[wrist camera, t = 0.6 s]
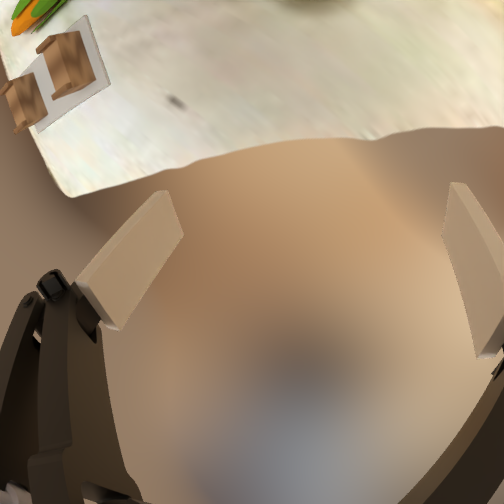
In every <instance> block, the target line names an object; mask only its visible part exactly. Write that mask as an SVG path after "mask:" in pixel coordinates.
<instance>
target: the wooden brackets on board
mask: <svg viewBox="0 0 504 504" xmlns="http://www.w3.org/2000/svg"><path fill="white" fill-rule="evenodd" d="M36 52H37V54H40V53H43V55H44V58H45V62H46V65H47V68H48V71H49V74H50V77H51V80H52V82H53V85H54V88H55V91H56V92H55V93H53V94H52V95H51V97H52V100H53V101H54V100H56V99H59V98H61V97H64V96H66V95H69V94H71V93H74V92H77V91H79V90H82V89H83V88H85V87H86V86H88V85H89V84H91V83H92V82H94V81H95V80H96V77H95V75H94V72H93V69H92V66H91V63H90V61H89V58H88V55H87V52H86V49H85V46H84V43H83V40H82V37H81V34H80V31H73V32H67V33H61V34H56V35H51V36H48V37H47V38H46V39H45V40H44V41H43V42H42V43H41V44H40V45H39V46H38V47H37V48H36ZM4 94H6V97H7V100H8V103H9V106H10V109H11V112H12V114H13V117H14V120H15V122H16V125H17V127H16V128H15V129H14V130H13V131H14V134H17V133H19V132H21V131H23V130H24V129H26V128H28V127H30V126H32V125H34V124H36V123H38V122H40V121H41V120H42V119H43V118H44V117H46V116H47V115H48V111H47V109H46V106H45V104H44V101H43V98H42V95H41V93H40V90H39V87H38V84H37V81H36V78H35V75H34V72H32V73H29V74H26V75H24V76H21V77H18V78H16V79H13V80H10V81H8V82H7V83H6V84H5V85H4V86H3V88H2V89H1V90H0V95H1V96H2V95H4Z"/></svg>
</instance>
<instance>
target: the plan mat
mask: <svg viewBox="0 0 504 504" xmlns="http://www.w3.org/2000/svg"><path fill="white" fill-rule="evenodd" d="M73 31H80V34H81V37H82V40H83V43H84V46H85V49H86V52H87V55H88V58H89V61H90V63H91V66H92V69H93V72H94V75H95V77H96V80H95V81H94V82H92V83H91V84H89V85H88V86H86V87H85V88H83V89H82V90H79V91H77V92H74V93H71V94H69V95H66V96H64V97H61V98H59V99H56V100H54V101H53V100H52V97H51V95H52V94H53V93H55V92H56V91H55V88H54V85H53V82H52V80H51V77H50V74H49V71H48V68H47V65H46V62H45V58H44V55H43V53H41V54H40V55H39V56H38V57H37V58H36V59H35V60H34V61H33V62H32V63H31V64H30V66H29V67H28V68H27V69H26V70H25V71H24V72H23V73H22V74H21V75H20V77H21V76H24V75H26V74H29V73H32V72H34V75H35V78H36V81H37V84H38V87H39V90H40V93H41V95H42V98H43V101H44V104H45V106H46V109H47V111H48V115H47V116H46V117H44V118H43V119H42V120H41V121H40V122H38V123H36V124H34V125H35V127H36V130H37V132H38V133H40V132H41V131H43V130H44V129H45V128H47V127H48V126H49V125H50V124H52V123H53V122H55V121H56V120H57V119H59V118H60V117H61V116H63V115H64V114H66V113H67V112H68V111H70V110H71V109H73V108H74V107H76V106H77V105H79V104H80V103H82V102H83V101H85V100H86V99H88V98H89V97H91V96H93V95H94V94H96V93H97V92H99V91H101V90H102V89H104V88H106V87H107V86H109V85H111V83H110V80H109V78H108V75H107V72H106V70H105V67H104V64H103V61H102V58H101V55H100V53H99V50H98V47H97V44H96V41H95V38H94V35H93V32H92V29H91V26H90V23H89V19H88V16H87V15H84V16H83V17H82V18H80V19H79V20H78V21H77V22H75V23H74V24H73V25H72V26H71V27H69V28H68V29H67V30H66V31H65V32H64V33H67V32H73Z"/></svg>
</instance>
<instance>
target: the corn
mask: <svg viewBox="0 0 504 504" xmlns="http://www.w3.org/2000/svg"><path fill="white" fill-rule="evenodd" d="M57 1H58V0H20V1H19V3H18V4H17V6H16V8H15V10H14V13H13V15H12V18H11V19H12V20H13V23H12V27H11V32H12V36H17V35H20V34H21V33H23V32H24V31H25V30H26V29H28V28H29V27H30V26H31V25H32V24H34V23H35V22H36V21H37V20H38V19H39V18H41V17H42V16H43V15H44V14H45V13H46V12H47V11H48V10H49V9H50V8H51V7H52V6H53V5H54V4H55V3H56V2H57ZM65 1H66V0H61V1H60V2H59V4H58V5H57V6H56V7H55V8H54V9H53V10H52V12H51V13H50V14H49V15H48V16H47V17H46V18H45V20H44V21H43V22H42V23H41V24H40V25H39V26H38V27H40V26H41V25H42V24H43V23H44V22H45V21H46V20H47V19H48V17H49V16H50V15H51V14H52V13H53V12H55V11H56V10H57V9H58V8H59V7H60V6H61V5H62V4H63V3H64V2H65ZM38 27H37V28H38ZM37 28H36V29H37ZM36 29H35V30H36ZM35 30H34V31H35ZM34 31H33V32H34ZM33 32H32V33H33ZM32 33H31V34H32Z"/></svg>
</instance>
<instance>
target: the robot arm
mask: <svg viewBox="0 0 504 504" xmlns="http://www.w3.org/2000/svg"><path fill="white" fill-rule="evenodd" d="M183 236H184V234H183V231H182V228H181V226H180V223H179V220H178V218H177V215H176V212H175V209H174V207H173V204H172V201H171V198H170V195H169V193H168V191H167V190H166V191H156V192H155V193H154V194H153V195H152V196H151V197H150V198H149V199H148V200H147V201H146V202H145V203H144V204H143V205H142V206H141V207H140V208H139V209H138V210H137V211H136V212H135V213H134V214H133V215H132V216H131V217H130V218H129V219H128V220H127V221H126V222H125V223H124V224H123V226H122V227H121V228H120V229H119V230H118V231H117V232H116V233H115V234H114V236H112V238H111V239H110V240H109V241H108V242H107V243H106V244H105V245H104V247H103V248H102V249H101V250H100V251H99V252H98V253H97V255H96V256H95V257H94V258H93V259H92V260H91V261H90V263H89V264H88V265H87V266H86V267H85V269H84V270H83V271H82V272H81V273H80V275H79V276H78V277H77V278H76V280H75V281H74V282H73V283H72V285H71V286H70V285H69V284H68V282H67V281H66V279H65V277H64V276H63V274H62V273H61V271H60V270H58V269H54V270H51V271H49V272H48V273H46V274H45V275H44V276H43V277H42V278H41V279H40V280H39V281H38V283H37V285H36V286H37V288H38V290H39V291H40V292H41V294H42V295H43V297H44V298H45V299H42V298H41V296H40V295H39V293H38V292H36V291H33V292H31V293H28V294H27V295H25V296H24V298H23V299H22V300H21V302H20V304H19V306H18V308H17V310H16V312H15V315H14V317H13V319H12V322H11V324H10V326H9V329H8V332H7V334H6V336H5V339H4V342H3V344H2V347H1V350H0V504H84V500H83V498H85V499H88V500H91V501H94V502H96V503H98V504H151V503H147V502H143V499H142V496H141V493H140V491H139V488H138V486H137V484H136V483H135V481H134V480H133V479H132V478H131V477H130V476H129V474H128V473H127V471H126V469H125V466H124V462H123V458H122V455H121V451H120V447H119V442H118V438H117V433H116V429H115V424H114V419H113V414H112V408H111V404H110V397H109V392H108V384H107V378H106V370H105V362H104V354H103V344H102V333H101V328H100V327H99V325H98V323H99V321H100V320H102V321H103V322H104V324H105V325H106V326H107V328H109V329H113V330H117V331H121V330H122V328H123V327H124V325H125V323H126V322H127V320H128V319H129V317H130V315H131V314H132V312H133V311H134V309H135V307H136V306H137V304H138V303H139V301H140V300H141V298H142V297H143V295H144V293H145V292H146V290H147V289H148V287H149V286H150V284H151V282H152V281H153V280H154V278H155V277H156V275H157V274H158V272H159V271H160V269H161V268H162V266H163V265H164V263H165V262H166V260H167V259H168V257H169V256H170V254H171V253H172V251H173V250H174V248H175V247H176V246H177V244H178V243H179V241H180V240H181V238H182V237H183ZM442 238H443V241H444V244H445V246H446V249H447V251H448V255H449V257H450V260H451V263H452V266H453V269H454V272H455V275H456V278H457V282H458V285H459V288H460V291H461V295H462V298H463V301H464V306H465V309H466V313H467V317H468V321H469V325H470V330H471V334H472V339H473V343H474V348H475V354H476V358H477V359H484V358H493V357H495V356H496V355H497V353H498V352H499V350H500V349H501V347H502V348H503V352H504V244H503V242H502V240H501V238H500V237H499V235H498V233H497V231H496V230H495V228H494V226H493V225H492V223H491V221H490V220H489V218H488V216H487V215H486V213H485V212H484V210H483V209H482V207H481V206H480V204H479V202H478V201H477V200H476V198H475V197H474V195H473V194H472V192H471V191H470V189H469V188H468V187H467V185H466V184H465V183H452V182H451V183H450V189H449V195H448V202H447V208H446V215H445V220H444V226H443V231H442ZM34 330H35V331H36V332H37V333H38V335H39V336H40V337H41V343H39V342H38V341H37V340H36V339H35V337H34V336H33V333H34ZM491 374H492V375H493V377H492V379H491V381H490V383H489V385H488V386H487V388H486V390H485V392H484V393H483V395H482V397H481V398H480V400H479V402H478V403H477V405H476V407H475V408H474V410H473V412H472V413H471V415H470V416H469V418H468V419H467V421H466V422H465V424H464V425H463V427H462V428H461V430H460V431H459V432H458V434H457V435H456V437H455V438H454V439H453V441H452V442H451V443H450V445H449V446H448V448H447V449H446V450H445V451H444V453H443V454H442V455H441V456H440V458H439V459H438V460H437V461H436V463H435V464H434V465H433V466H432V467H431V469H430V470H429V471H428V472H427V473H426V474H425V475H424V477H423V478H422V479H421V480H420V481H419V482H418V483H417V484H416V486H415V487H414V488H413V489H412V490H411V491H410V492H409V493H408V494H407V495H406V496H405V497H404V498H403V499H402V500H401V501H400V502H399V503H398V504H487V503H488V501H489V500H490V499H491V497H492V496H493V494H494V493H495V491H496V490H497V488H498V487H499V485H500V484H501V482H502V480H503V479H504V358H503V359H502V360H501V362H500V363H499V364H498V366H497V367H496V368H495V370H494V371H493V372H492V373H491Z"/></svg>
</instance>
